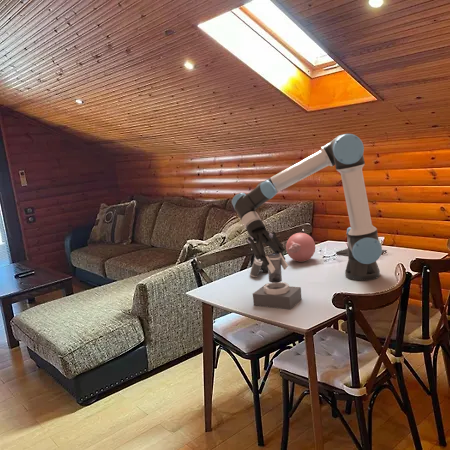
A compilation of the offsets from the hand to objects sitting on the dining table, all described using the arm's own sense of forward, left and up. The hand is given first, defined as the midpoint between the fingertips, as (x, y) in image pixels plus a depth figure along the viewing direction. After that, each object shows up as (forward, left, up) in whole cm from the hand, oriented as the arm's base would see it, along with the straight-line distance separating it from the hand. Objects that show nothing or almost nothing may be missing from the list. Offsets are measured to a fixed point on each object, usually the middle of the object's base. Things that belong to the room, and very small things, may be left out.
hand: (279, 269), depth 177 cm
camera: (+28, -38, -15) cm, 49 cm away
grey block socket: (+3, -2, -15) cm, 15 cm away
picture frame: (-11, -81, -15) cm, 83 cm away
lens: (+3, -2, -5) cm, 6 cm away
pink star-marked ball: (+16, -59, -15) cm, 63 cm away
